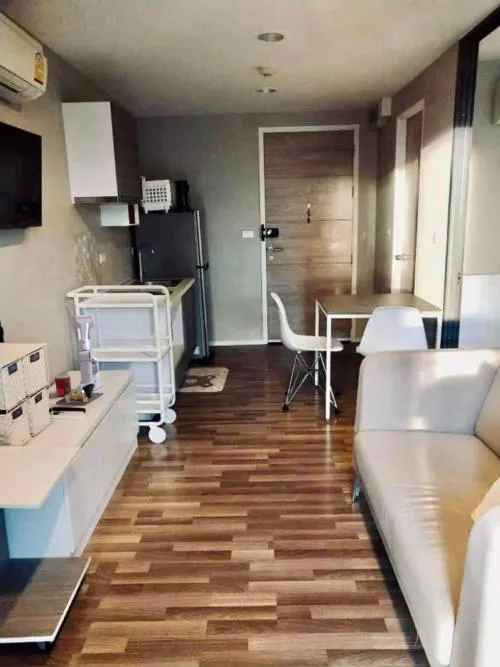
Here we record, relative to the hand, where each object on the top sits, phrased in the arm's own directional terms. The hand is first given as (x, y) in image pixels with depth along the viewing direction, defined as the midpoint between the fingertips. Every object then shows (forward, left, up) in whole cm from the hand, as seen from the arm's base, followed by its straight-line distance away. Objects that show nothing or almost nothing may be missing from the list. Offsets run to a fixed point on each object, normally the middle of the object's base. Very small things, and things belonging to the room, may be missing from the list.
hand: (89, 398), depth 266 cm
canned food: (-9, -21, -2) cm, 23 cm away
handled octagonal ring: (-2, -5, -1) cm, 6 cm away
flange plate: (-4, -7, -2) cm, 8 cm away
